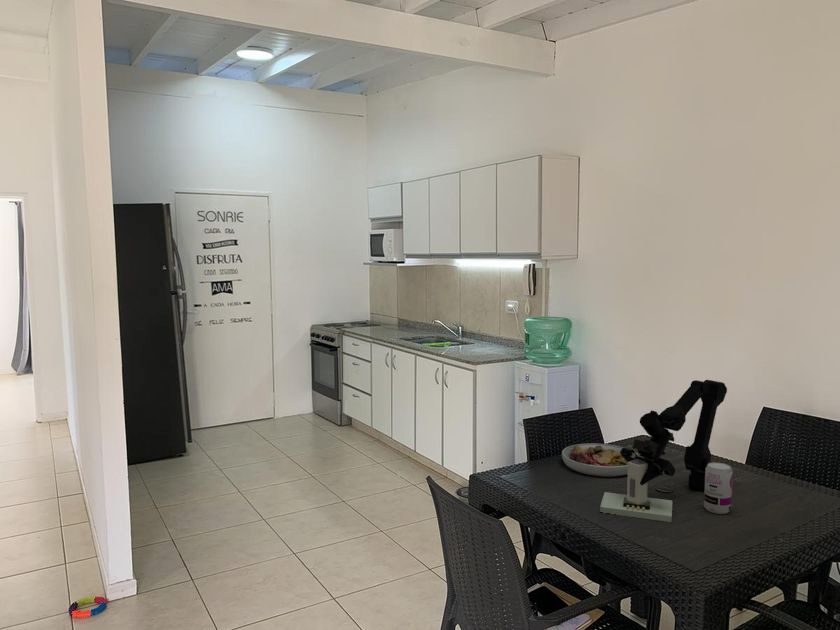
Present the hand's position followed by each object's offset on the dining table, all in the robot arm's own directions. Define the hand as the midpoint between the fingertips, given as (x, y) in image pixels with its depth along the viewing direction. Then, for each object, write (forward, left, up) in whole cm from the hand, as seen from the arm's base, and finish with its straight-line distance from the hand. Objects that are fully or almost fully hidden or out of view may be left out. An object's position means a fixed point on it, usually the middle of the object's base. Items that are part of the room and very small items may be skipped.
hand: (634, 482), depth 223 cm
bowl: (+15, -42, -10) cm, 46 cm away
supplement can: (-26, -10, -10) cm, 29 cm away
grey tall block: (-1, -1, -7) cm, 7 cm away
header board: (-1, -1, -9) cm, 10 cm away
